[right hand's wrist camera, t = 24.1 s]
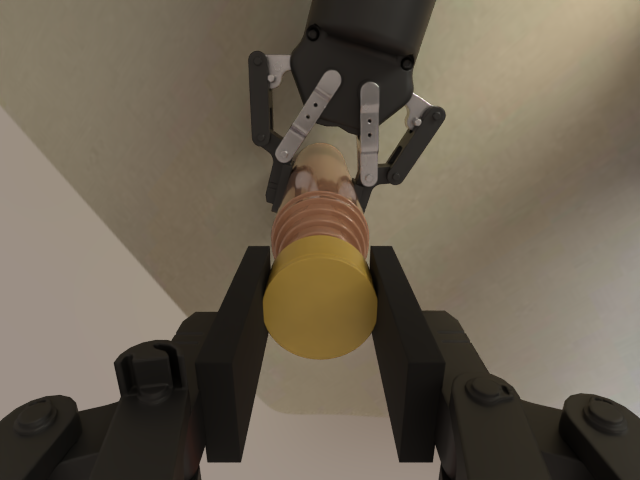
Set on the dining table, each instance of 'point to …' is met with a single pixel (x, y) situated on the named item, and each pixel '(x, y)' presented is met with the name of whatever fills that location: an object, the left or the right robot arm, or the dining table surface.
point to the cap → (320, 298)
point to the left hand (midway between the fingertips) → (311, 218)
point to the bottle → (320, 202)
